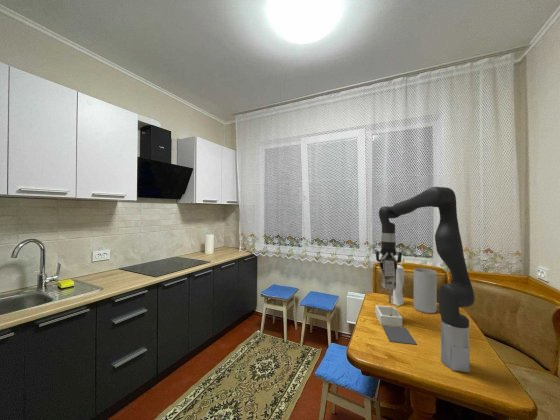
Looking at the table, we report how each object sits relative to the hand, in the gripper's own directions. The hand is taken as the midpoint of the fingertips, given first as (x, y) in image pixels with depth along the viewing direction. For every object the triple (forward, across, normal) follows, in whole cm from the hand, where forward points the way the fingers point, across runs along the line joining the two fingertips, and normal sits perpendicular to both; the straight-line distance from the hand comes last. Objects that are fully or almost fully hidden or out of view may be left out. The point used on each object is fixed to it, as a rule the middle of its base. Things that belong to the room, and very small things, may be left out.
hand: (388, 269), depth 131 cm
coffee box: (+10, 0, 0) cm, 10 cm away
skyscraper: (+30, +12, +25) cm, 41 cm away
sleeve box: (+29, 0, 0) cm, 29 cm away
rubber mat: (+30, +1, -16) cm, 34 cm away
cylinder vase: (+30, +27, +20) cm, 45 cm away
